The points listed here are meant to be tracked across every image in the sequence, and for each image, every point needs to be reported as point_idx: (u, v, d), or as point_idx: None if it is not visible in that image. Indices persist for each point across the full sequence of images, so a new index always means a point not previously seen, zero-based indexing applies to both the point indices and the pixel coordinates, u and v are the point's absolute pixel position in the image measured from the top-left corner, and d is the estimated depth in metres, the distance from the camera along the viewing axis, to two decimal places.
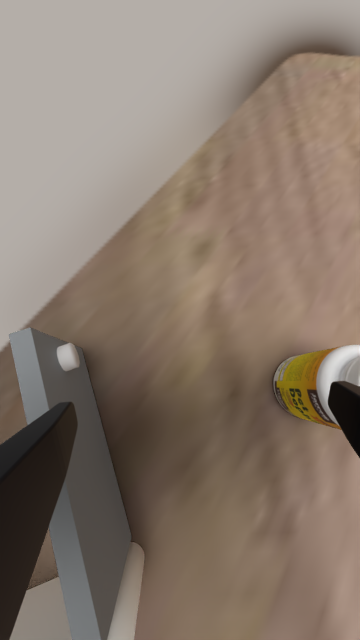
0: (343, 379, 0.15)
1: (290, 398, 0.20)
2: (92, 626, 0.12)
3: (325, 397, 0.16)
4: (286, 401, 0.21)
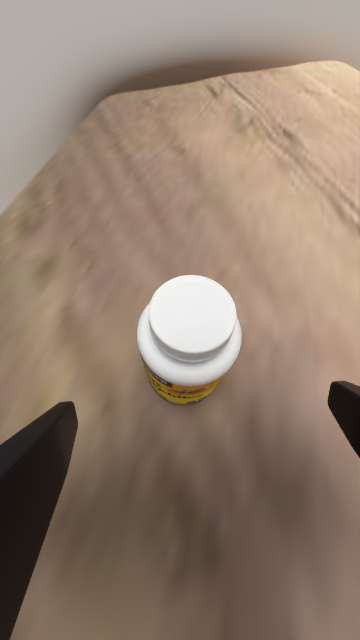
0: (150, 325, 0.13)
1: (152, 382, 0.17)
2: None
3: (144, 355, 0.13)
4: (155, 388, 0.18)
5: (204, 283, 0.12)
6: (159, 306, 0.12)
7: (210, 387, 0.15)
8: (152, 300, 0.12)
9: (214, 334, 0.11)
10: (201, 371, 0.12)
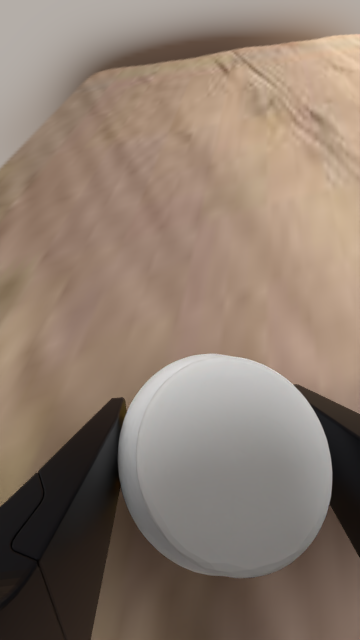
0: None
1: None
2: None
3: (130, 510, 0.07)
4: None
5: (254, 377, 0.06)
6: (159, 441, 0.05)
7: None
8: (144, 422, 0.05)
9: (289, 520, 0.05)
10: None
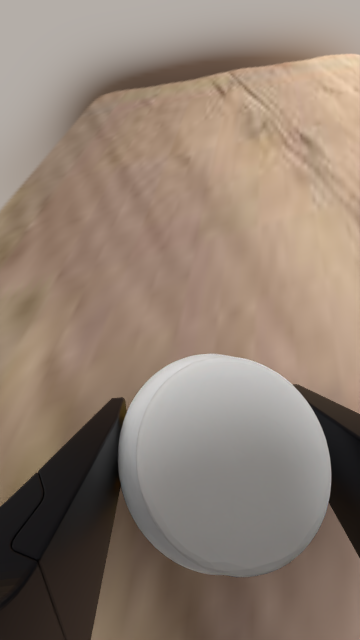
0: None
1: None
2: None
3: (130, 510, 0.07)
4: None
5: (253, 377, 0.06)
6: (159, 441, 0.05)
7: None
8: (144, 422, 0.05)
9: (288, 519, 0.05)
10: None
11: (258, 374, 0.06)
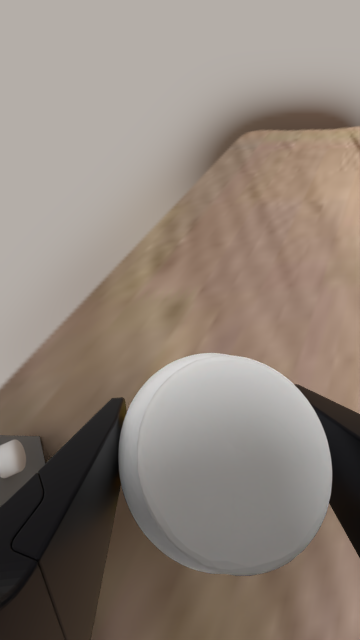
0: None
1: None
2: None
3: (130, 508, 0.07)
4: None
5: (254, 376, 0.06)
6: (159, 439, 0.05)
7: None
8: (145, 421, 0.05)
9: (289, 518, 0.05)
10: None
11: (259, 373, 0.06)
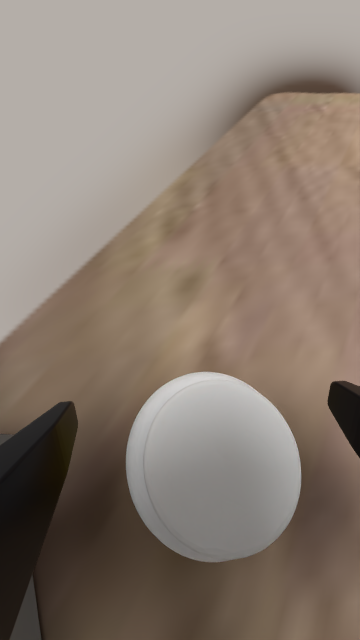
0: None
1: None
2: None
3: (137, 509, 0.08)
4: None
5: (239, 397, 0.07)
6: (162, 452, 0.06)
7: None
8: (150, 437, 0.07)
9: (266, 514, 0.06)
10: None
11: (243, 395, 0.07)
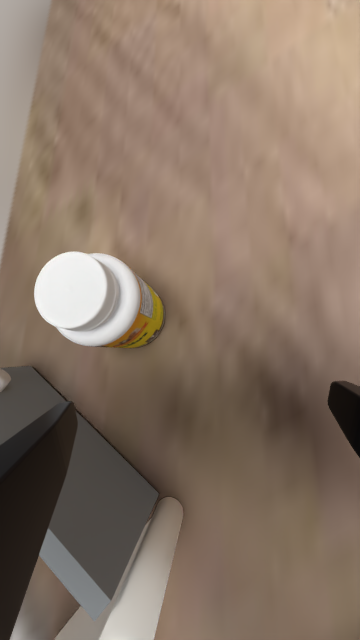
0: None
1: None
2: (90, 585, 0.12)
3: (68, 338, 0.15)
4: None
5: (67, 259, 0.13)
6: (42, 301, 0.13)
7: (142, 327, 0.17)
8: (35, 299, 0.13)
9: (93, 299, 0.13)
10: (113, 326, 0.14)
11: (68, 256, 0.13)
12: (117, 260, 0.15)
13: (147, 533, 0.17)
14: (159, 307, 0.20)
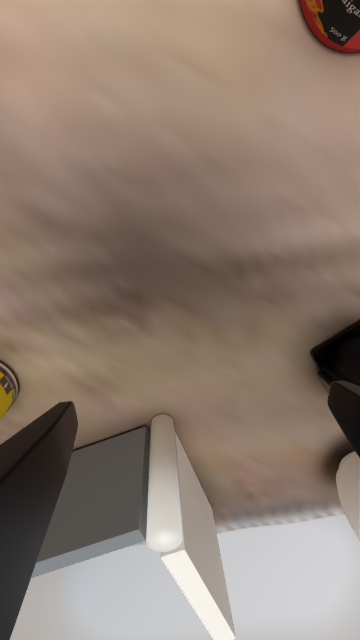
0: None
1: None
2: (123, 537, 0.17)
3: None
4: None
5: None
6: None
7: None
8: None
9: None
10: None
11: None
12: None
13: None
14: None
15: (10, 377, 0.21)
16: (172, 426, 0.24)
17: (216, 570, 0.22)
